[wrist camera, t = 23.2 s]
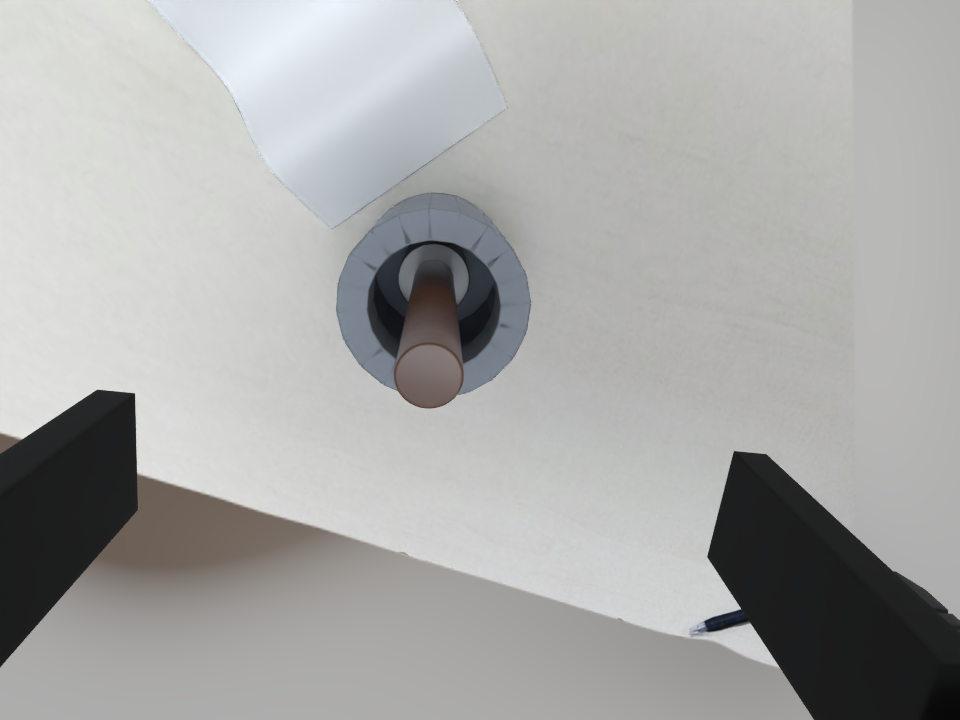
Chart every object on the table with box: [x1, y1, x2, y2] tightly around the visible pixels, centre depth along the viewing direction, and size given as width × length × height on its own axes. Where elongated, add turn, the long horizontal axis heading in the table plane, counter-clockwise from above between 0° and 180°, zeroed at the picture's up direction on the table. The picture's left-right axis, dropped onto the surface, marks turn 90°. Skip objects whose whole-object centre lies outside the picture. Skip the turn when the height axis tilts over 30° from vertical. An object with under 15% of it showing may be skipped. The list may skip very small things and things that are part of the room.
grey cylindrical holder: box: [336, 193, 531, 395], centre depth 37 cm, size 9×9×13 cm
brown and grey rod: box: [394, 240, 470, 408], centre depth 31 cm, size 4×4×22 cm
